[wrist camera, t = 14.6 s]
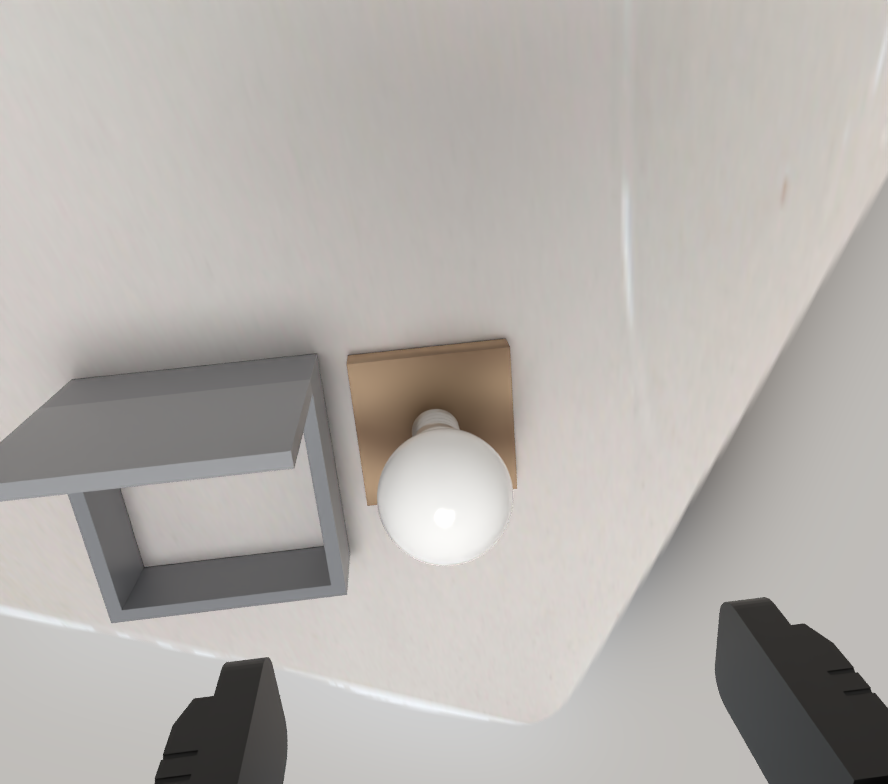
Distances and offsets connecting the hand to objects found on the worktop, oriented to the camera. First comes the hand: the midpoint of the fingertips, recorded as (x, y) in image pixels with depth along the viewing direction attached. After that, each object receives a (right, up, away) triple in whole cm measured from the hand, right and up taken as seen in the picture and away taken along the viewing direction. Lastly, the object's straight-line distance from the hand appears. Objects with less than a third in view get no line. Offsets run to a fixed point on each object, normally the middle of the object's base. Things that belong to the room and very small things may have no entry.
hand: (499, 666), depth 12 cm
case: (-14, 0, +29) cm, 33 cm away
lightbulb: (-2, +3, +28) cm, 28 cm away
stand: (-2, +3, +29) cm, 29 cm away
